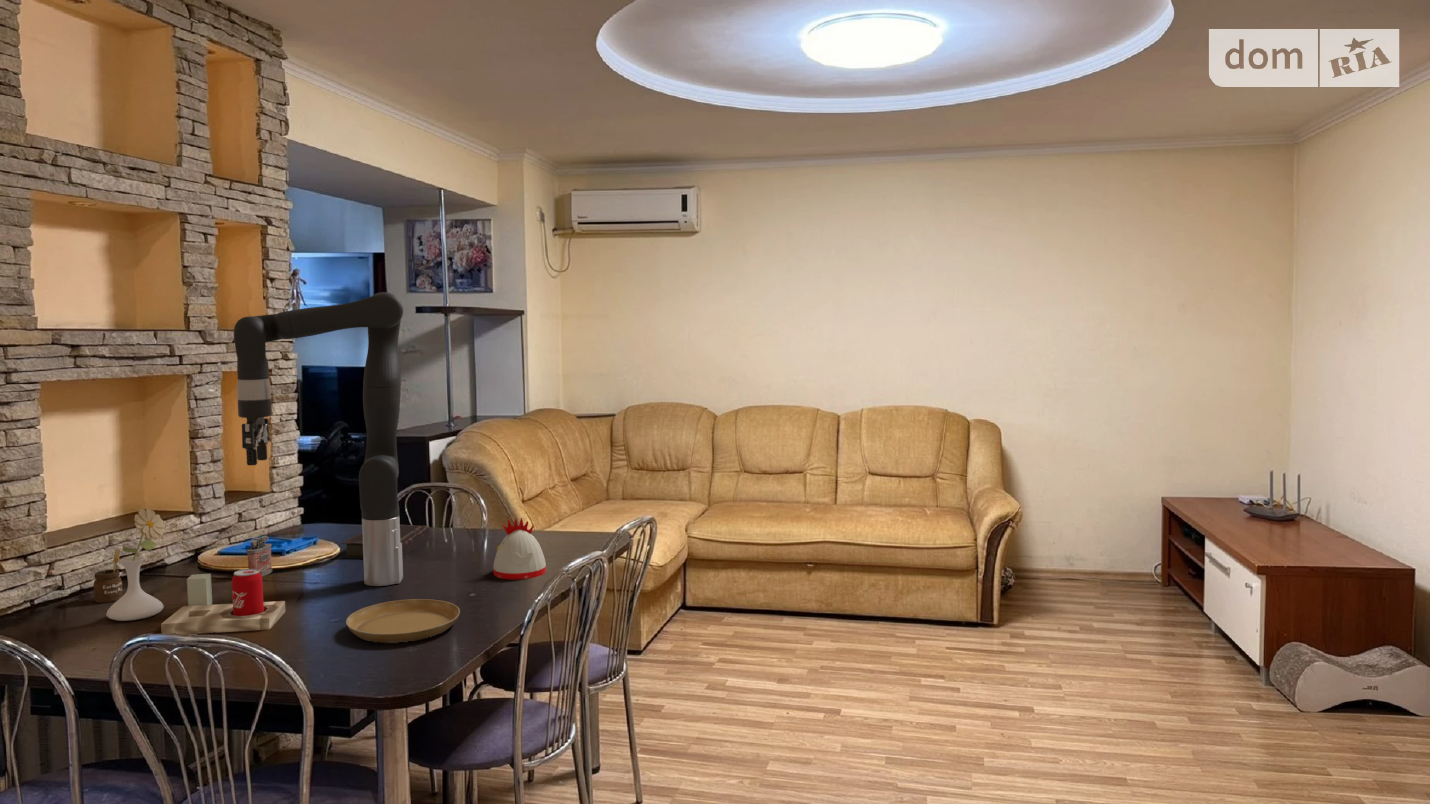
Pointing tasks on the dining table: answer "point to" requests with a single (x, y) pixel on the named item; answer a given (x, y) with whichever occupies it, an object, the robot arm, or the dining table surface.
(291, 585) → the dining table surface
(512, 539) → the kitchen timer
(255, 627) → the socket board
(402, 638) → the plant saucer
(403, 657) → the dining table surface
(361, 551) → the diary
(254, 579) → the beverage can
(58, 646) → the dining table surface
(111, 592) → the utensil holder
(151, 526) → the flower in vase
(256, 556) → the lighter
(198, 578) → the square peg
